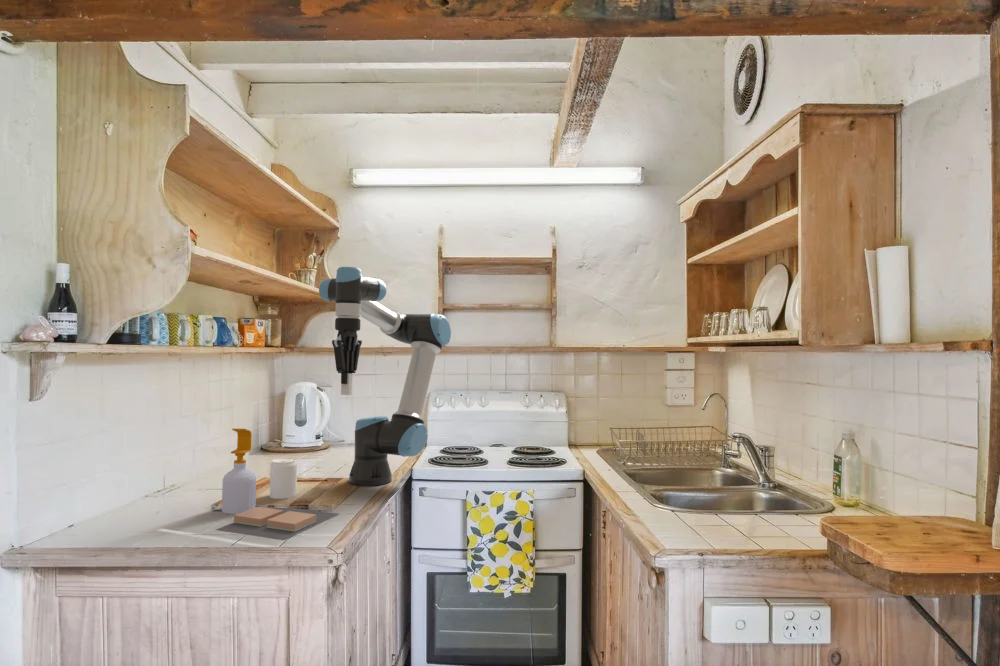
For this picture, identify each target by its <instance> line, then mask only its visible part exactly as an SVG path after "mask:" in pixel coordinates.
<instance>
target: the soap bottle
mask: <svg viewBox="0 0 1000 666" xmlns="http://www.w3.org/2000/svg"><path fill="white" fill-rule="evenodd" d="M231 431H234V432H236V433H237V447H236V449H234V450H232V451H230V454H234V456H236V460H234V461H233V468H232V469H231V470H230V471H228V472H227V473H225V474H224V476H223V478H222V487H221V488H222V492H221V494H222V495H221V496H222V497H221V498H222V499H221V512H222V513H223V514H224V513H225V514H230V515H231V514H232V515H233V514H234V515H236V514H239V513H242V512H244V511H247V510H250V509H253V508H255V507H256V503H257V502H256V500H257V497H256V496H257V474H256V473H255V472H254V471H253V470H251V469H248V468H247V460H246V459H244V456H246V454H247V453H248V452H250V451H251V449H252V431H251V430H250V429H247V428H232V430H231Z"/></svg>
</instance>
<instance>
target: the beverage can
mask: <svg viewBox="0 0 1000 666" xmlns="http://www.w3.org/2000/svg"><path fill="white" fill-rule="evenodd" d="M269 465H270V466H269V467H270V469H269V475H270V476H269V498H270V499H275V500H287V499H292V498H295V497H296V496H297V490H298V489H297V488H298V487H297V482H298V480H297V479H298V463H297V461H296V458H291V457H281V458H275V459H274V458H273V459H272V462H271V463H270V464H269ZM286 498H287V499H286Z"/></svg>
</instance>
